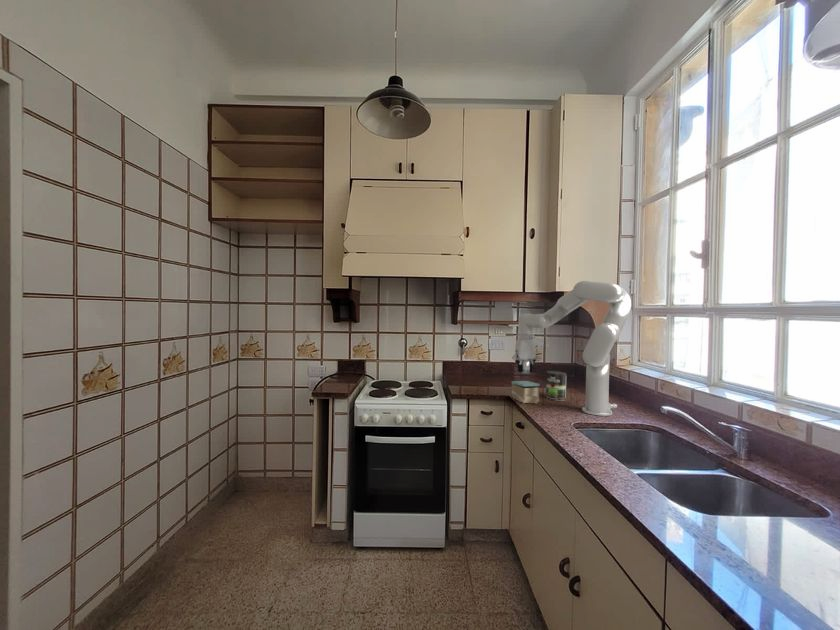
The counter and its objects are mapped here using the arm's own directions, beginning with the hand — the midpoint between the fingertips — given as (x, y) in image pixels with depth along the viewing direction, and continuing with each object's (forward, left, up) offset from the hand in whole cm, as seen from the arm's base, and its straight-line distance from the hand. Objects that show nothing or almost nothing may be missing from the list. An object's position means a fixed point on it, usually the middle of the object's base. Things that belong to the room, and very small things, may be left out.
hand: (525, 371), depth 180 cm
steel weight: (0, 0, -1) cm, 1 cm away
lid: (0, 0, -7) cm, 7 cm away
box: (0, 0, -15) cm, 15 cm away
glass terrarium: (-20, -2, -16) cm, 26 cm away
